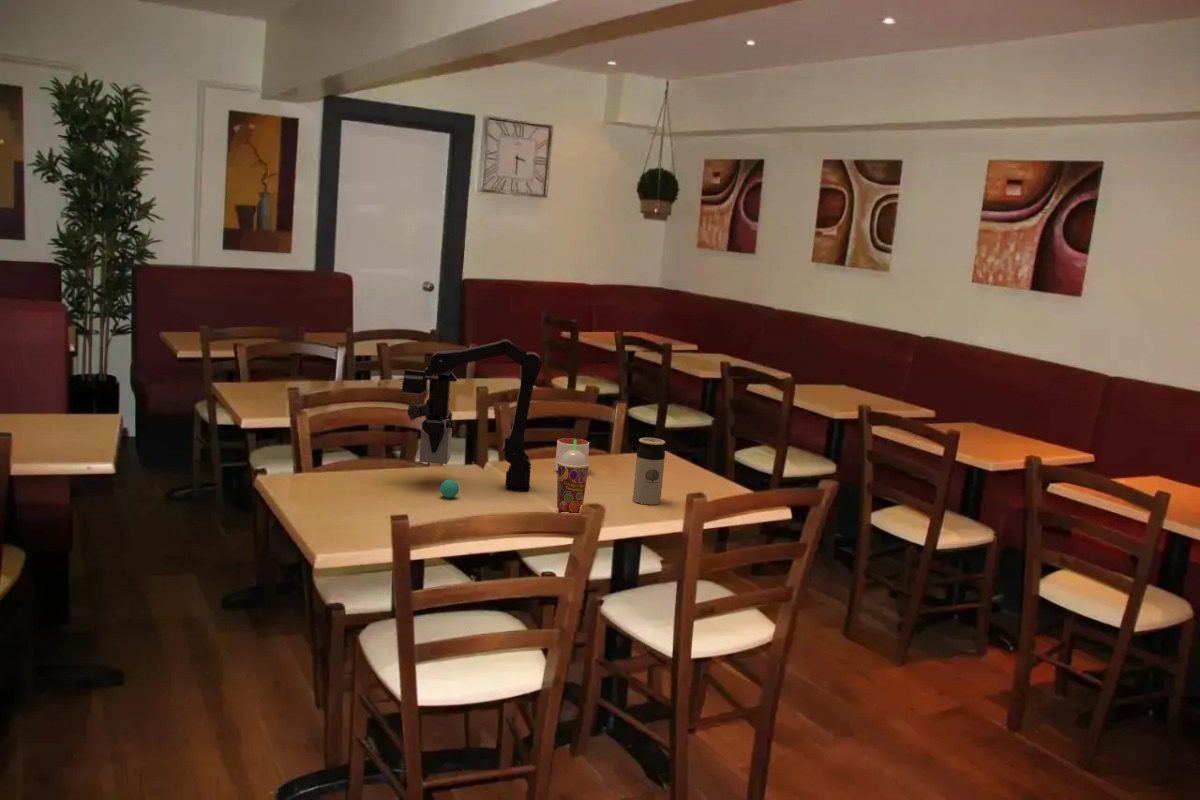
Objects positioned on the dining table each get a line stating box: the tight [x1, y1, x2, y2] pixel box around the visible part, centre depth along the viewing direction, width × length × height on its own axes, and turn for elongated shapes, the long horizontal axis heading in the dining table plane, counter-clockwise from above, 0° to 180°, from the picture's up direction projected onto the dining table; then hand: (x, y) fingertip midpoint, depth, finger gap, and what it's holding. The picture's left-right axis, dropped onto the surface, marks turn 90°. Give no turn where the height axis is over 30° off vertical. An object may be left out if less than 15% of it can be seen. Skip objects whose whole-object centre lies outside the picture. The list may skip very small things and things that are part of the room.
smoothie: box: [556, 440, 590, 513], centre depth 271 cm, size 8×8×20 cm
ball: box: [439, 479, 460, 499], centre depth 277 cm, size 5×5×5 cm
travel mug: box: [632, 437, 666, 505], centre depth 290 cm, size 8×8×18 cm
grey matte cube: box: [418, 427, 453, 465], centre depth 289 cm, size 8×8×9 cm
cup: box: [554, 437, 590, 472], centre depth 318 cm, size 10×10×10 cm
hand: (435, 449), depth 290 cm, fingers closed on grey matte cube, 8 cm apart
